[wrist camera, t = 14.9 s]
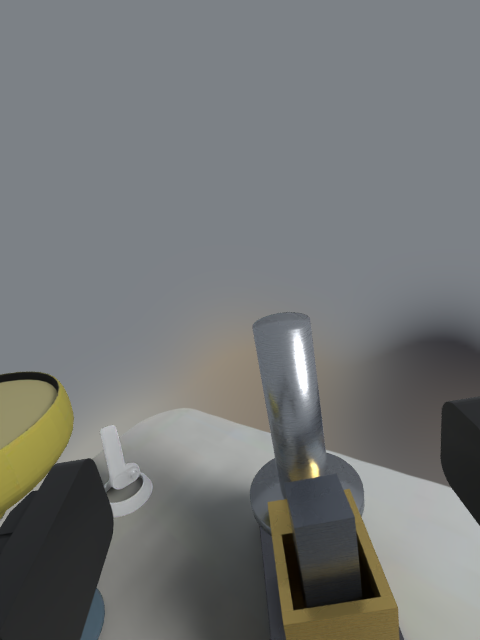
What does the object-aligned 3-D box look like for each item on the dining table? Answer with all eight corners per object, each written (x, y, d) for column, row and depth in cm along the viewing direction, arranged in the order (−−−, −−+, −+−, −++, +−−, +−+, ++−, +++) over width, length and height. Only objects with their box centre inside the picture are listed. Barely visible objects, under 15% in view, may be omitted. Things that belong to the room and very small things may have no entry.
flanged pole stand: (260, 523, 46) (217, 313, 37) (350, 508, 46) (329, 293, 37) (281, 736, 28) (209, 432, 19) (430, 715, 28) (426, 396, 19)
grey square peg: (307, 624, 34) (283, 483, 29) (352, 616, 34) (336, 473, 29) (319, 679, 30) (294, 528, 25) (369, 670, 30) (354, 517, 25)
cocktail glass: (-86, 833, 27) (-320, 587, 19) (-37, 606, 43) (-152, 418, 34) (159, 672, 34) (68, 436, 25) (124, 527, 49) (60, 352, 41)
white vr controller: (126, 426, 62) (139, 415, 57) (147, 502, 59) (164, 498, 54) (77, 441, 57) (87, 431, 52) (98, 524, 54) (111, 522, 49)
